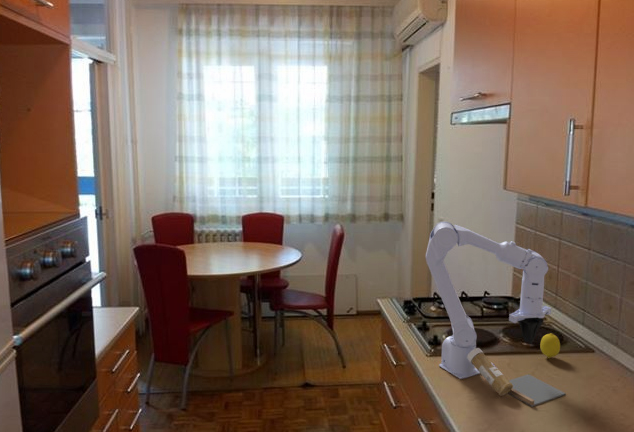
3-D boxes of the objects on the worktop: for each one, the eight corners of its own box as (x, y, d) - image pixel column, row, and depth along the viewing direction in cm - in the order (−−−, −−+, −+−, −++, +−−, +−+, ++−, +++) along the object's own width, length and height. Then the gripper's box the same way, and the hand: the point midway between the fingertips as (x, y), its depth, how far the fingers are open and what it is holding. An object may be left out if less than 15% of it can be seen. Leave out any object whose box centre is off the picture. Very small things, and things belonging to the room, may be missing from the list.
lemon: (542, 352, 162) (544, 328, 161) (561, 357, 159) (563, 332, 157) (537, 358, 158) (538, 333, 156) (556, 363, 154) (558, 338, 153)
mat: (495, 386, 141) (495, 381, 141) (528, 375, 147) (528, 370, 147) (531, 406, 131) (531, 401, 130) (565, 394, 137) (565, 389, 136)
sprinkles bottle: (512, 382, 133) (478, 344, 143) (498, 392, 133) (465, 354, 142) (514, 389, 136) (480, 351, 146) (500, 399, 136) (467, 361, 146)
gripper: (525, 304, 136) (521, 352, 138) (562, 296, 142) (558, 342, 145) (504, 296, 142) (501, 342, 144) (540, 289, 148) (537, 333, 151)
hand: (528, 342), depth 145 cm, fingers closed
